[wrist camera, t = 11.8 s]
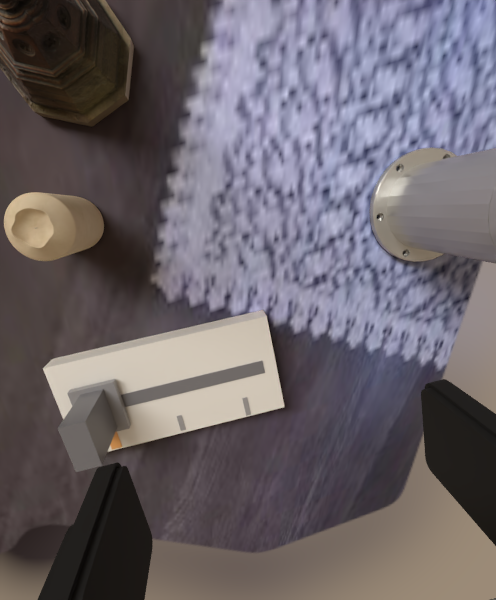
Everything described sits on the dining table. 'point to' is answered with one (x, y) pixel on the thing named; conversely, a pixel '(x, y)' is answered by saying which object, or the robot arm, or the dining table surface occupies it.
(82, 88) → the bird statue
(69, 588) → the robot arm
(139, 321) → the dining table surface
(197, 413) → the fader console
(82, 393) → the fader tab
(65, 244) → the candle
